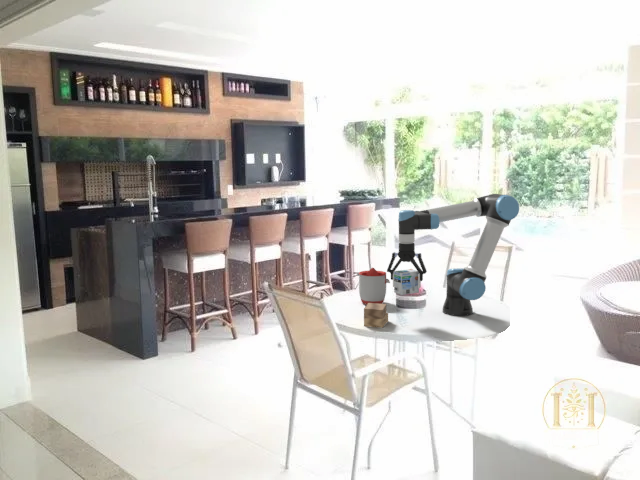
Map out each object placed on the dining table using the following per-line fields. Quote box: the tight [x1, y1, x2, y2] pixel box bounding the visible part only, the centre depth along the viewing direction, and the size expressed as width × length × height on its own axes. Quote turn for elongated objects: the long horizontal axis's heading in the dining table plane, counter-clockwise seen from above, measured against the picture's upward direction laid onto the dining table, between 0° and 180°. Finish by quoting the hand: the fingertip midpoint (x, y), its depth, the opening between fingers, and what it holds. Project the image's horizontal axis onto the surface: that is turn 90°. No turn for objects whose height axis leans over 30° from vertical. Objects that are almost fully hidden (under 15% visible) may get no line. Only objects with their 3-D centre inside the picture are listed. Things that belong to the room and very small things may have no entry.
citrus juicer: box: [358, 267, 391, 305], centre depth 323 cm, size 16×17×20 cm
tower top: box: [363, 303, 387, 319], centre depth 282 cm, size 9×12×4 cm
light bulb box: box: [393, 268, 420, 296], centre depth 283 cm, size 11×7×11 cm, turn 118°
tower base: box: [363, 312, 389, 329], centre depth 283 cm, size 9×12×4 cm
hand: (406, 287), depth 283 cm, fingers closed on light bulb box, 11 cm apart
